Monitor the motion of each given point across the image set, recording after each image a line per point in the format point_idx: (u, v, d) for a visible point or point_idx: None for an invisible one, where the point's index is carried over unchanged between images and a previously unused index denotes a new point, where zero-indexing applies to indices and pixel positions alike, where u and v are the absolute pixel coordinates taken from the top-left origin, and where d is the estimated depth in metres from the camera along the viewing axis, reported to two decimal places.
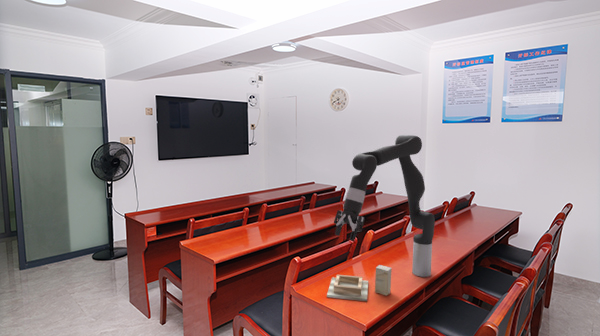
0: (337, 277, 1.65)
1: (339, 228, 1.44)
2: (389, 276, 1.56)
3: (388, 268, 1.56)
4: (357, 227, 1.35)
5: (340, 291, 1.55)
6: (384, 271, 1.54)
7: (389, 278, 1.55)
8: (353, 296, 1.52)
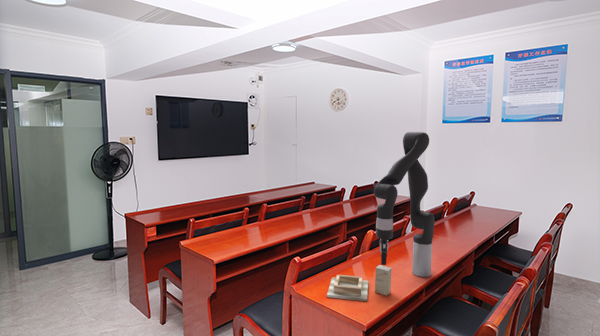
0: (337, 277, 1.65)
1: (383, 251, 1.60)
2: (389, 276, 1.56)
3: (388, 268, 1.56)
4: (381, 254, 1.50)
5: (340, 291, 1.55)
6: (384, 271, 1.54)
7: (389, 278, 1.55)
8: (353, 296, 1.52)
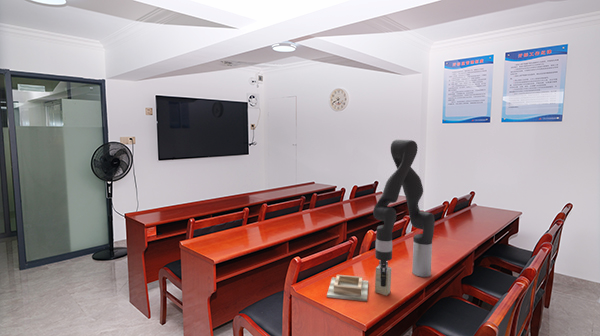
0: (337, 277, 1.65)
1: None
2: (389, 276, 1.56)
3: (388, 268, 1.56)
4: None
5: (340, 291, 1.55)
6: None
7: (389, 278, 1.55)
8: (353, 296, 1.52)
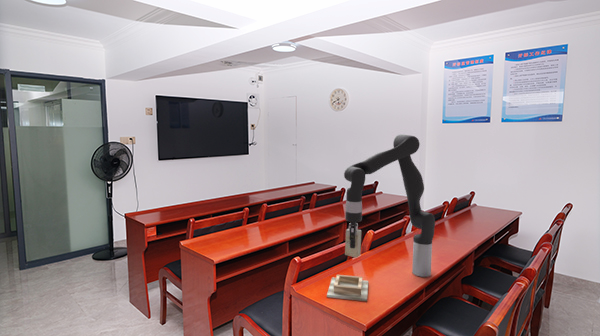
0: (337, 277, 1.65)
1: None
2: (359, 238, 1.55)
3: (358, 230, 1.56)
4: None
5: (340, 291, 1.55)
6: None
7: (359, 240, 1.55)
8: (353, 296, 1.52)
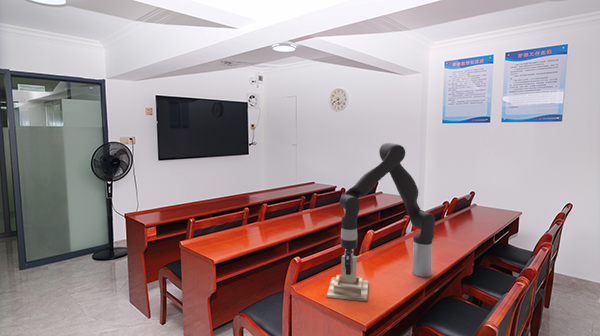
0: (337, 277, 1.65)
1: None
2: (355, 264, 1.58)
3: (353, 257, 1.58)
4: (345, 264, 1.54)
5: (340, 291, 1.55)
6: None
7: (354, 266, 1.58)
8: (353, 296, 1.52)
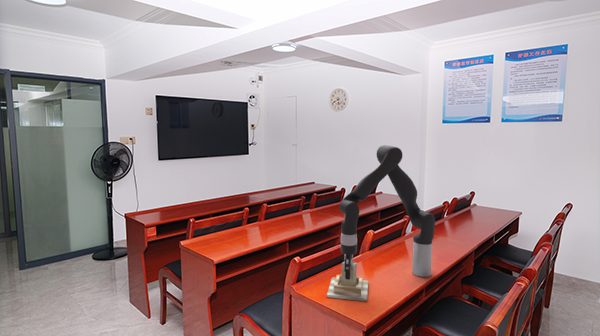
0: (337, 277, 1.65)
1: None
2: (355, 271, 1.59)
3: (353, 263, 1.59)
4: None
5: (340, 291, 1.55)
6: None
7: (355, 273, 1.58)
8: (353, 296, 1.52)
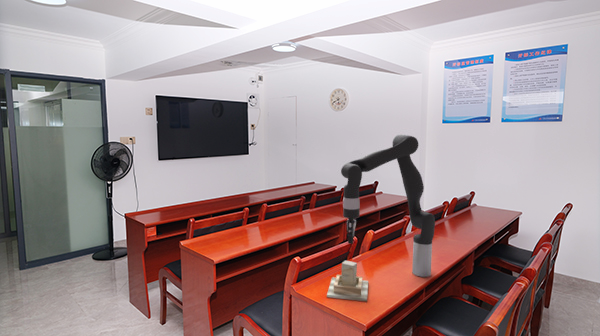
0: (337, 277, 1.65)
1: (351, 231, 1.62)
2: (355, 271, 1.59)
3: (353, 263, 1.59)
4: None
5: (340, 291, 1.55)
6: (350, 266, 1.57)
7: (355, 273, 1.58)
8: (353, 296, 1.52)
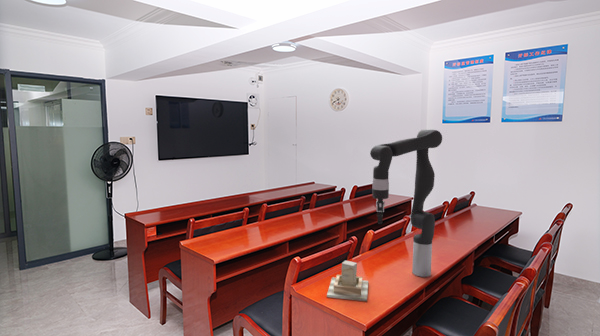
0: (337, 277, 1.65)
1: (379, 213, 1.65)
2: (355, 271, 1.59)
3: (353, 263, 1.59)
4: (377, 212, 1.55)
5: (340, 291, 1.55)
6: (350, 266, 1.57)
7: (354, 273, 1.58)
8: (353, 296, 1.52)
